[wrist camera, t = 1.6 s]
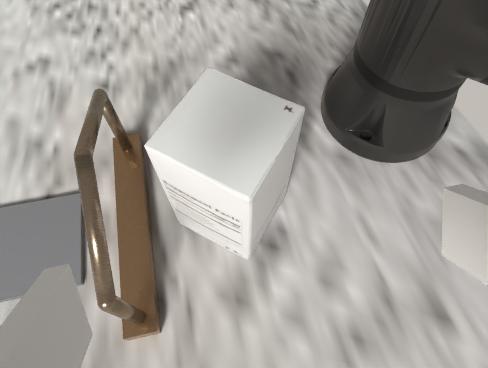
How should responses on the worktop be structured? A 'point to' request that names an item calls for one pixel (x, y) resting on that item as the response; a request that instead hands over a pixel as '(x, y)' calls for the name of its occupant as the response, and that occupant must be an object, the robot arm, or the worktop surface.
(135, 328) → the cabinet door handle
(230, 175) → the supplement box
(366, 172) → the worktop surface
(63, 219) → the mat
